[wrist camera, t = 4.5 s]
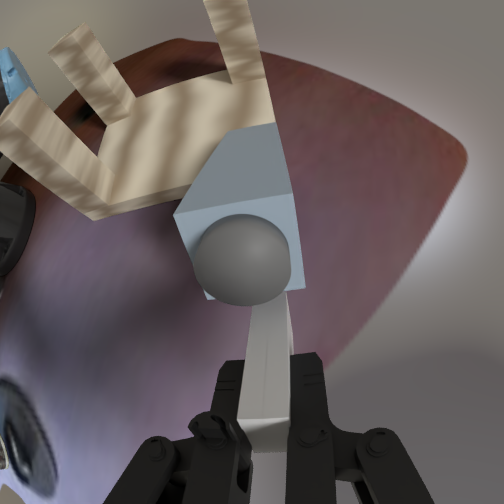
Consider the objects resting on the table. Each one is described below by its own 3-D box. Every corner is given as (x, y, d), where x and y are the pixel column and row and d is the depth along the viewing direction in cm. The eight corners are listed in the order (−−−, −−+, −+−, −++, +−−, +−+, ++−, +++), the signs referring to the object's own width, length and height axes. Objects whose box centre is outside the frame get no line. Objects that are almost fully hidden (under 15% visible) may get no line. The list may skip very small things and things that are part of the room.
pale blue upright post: (238, 174, 24) (203, 317, 10) (227, 131, 21) (164, 230, 8) (284, 166, 23) (308, 306, 10) (275, 122, 21) (296, 207, 8)
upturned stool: (93, 221, 28) (-14, 140, 13) (120, 116, 35) (61, 37, 19) (286, 178, 25) (248, 1, 9) (264, 74, 31) (235, -37, 15)
